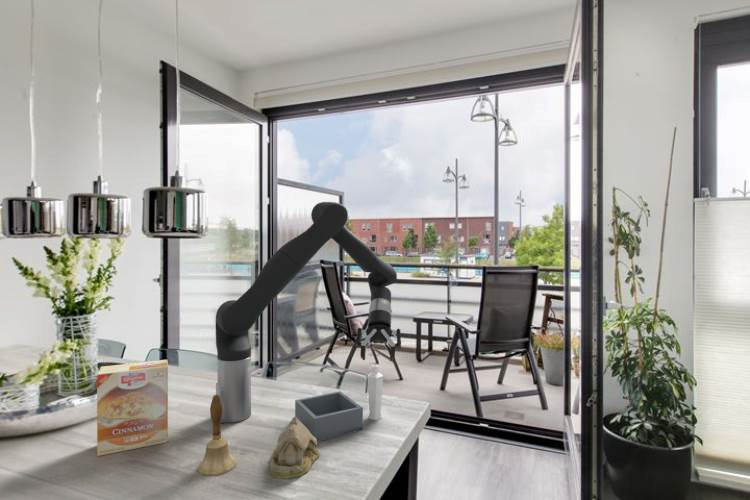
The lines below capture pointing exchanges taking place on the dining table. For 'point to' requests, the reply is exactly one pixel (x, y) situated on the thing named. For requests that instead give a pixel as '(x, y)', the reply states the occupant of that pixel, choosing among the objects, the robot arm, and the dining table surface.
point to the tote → (329, 415)
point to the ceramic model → (294, 451)
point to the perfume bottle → (375, 392)
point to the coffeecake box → (132, 406)
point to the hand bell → (216, 446)
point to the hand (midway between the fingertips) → (377, 359)
